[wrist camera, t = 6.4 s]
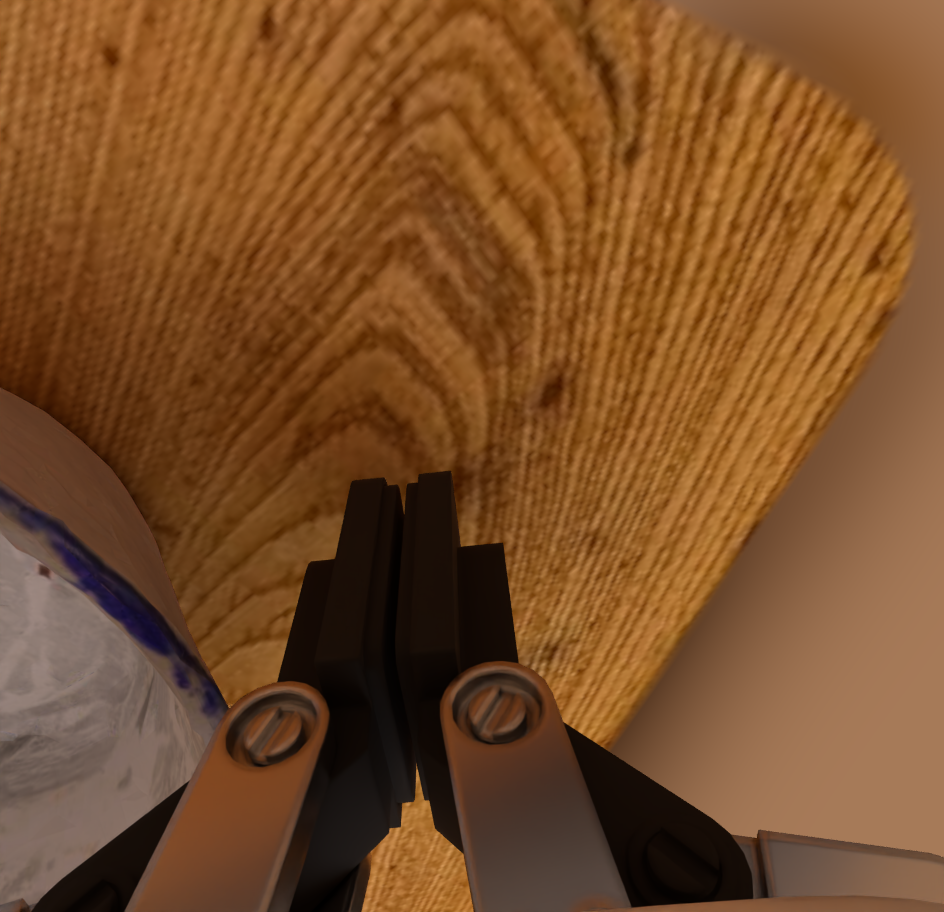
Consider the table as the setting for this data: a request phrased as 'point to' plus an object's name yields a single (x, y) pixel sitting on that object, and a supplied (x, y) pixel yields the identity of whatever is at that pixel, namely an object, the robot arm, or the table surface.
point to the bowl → (84, 659)
